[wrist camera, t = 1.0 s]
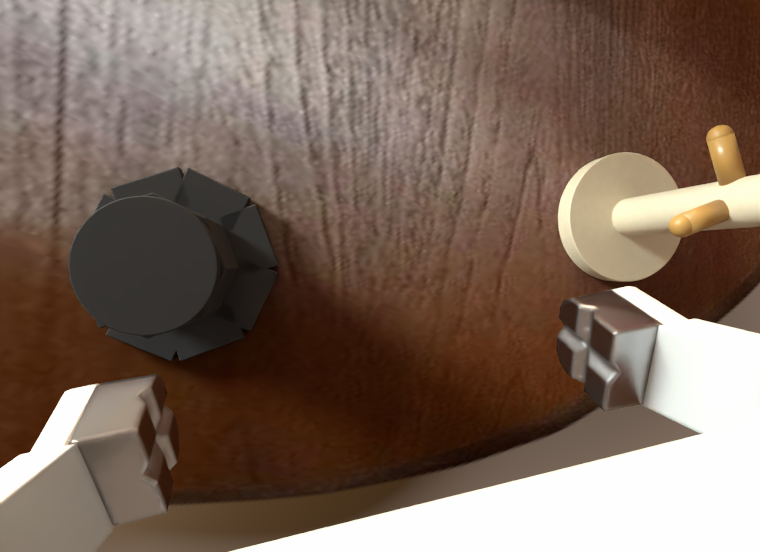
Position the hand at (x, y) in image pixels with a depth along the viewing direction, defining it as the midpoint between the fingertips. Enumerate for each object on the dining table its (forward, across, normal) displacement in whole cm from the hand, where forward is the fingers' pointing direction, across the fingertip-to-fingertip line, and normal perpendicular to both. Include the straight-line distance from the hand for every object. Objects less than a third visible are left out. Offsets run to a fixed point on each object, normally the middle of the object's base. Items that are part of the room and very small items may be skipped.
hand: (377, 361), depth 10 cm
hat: (+22, -8, -6) cm, 24 cm away
